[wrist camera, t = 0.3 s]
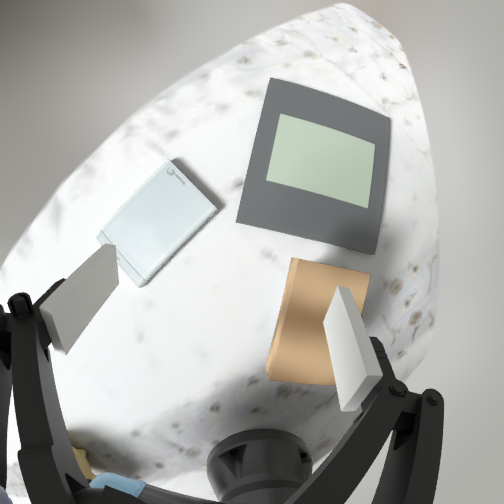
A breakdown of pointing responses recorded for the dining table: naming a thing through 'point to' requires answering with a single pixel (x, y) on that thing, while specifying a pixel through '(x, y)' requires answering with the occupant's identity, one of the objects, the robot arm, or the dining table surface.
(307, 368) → the card box
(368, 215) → the mat
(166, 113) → the dining table surface
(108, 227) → the hard drive
